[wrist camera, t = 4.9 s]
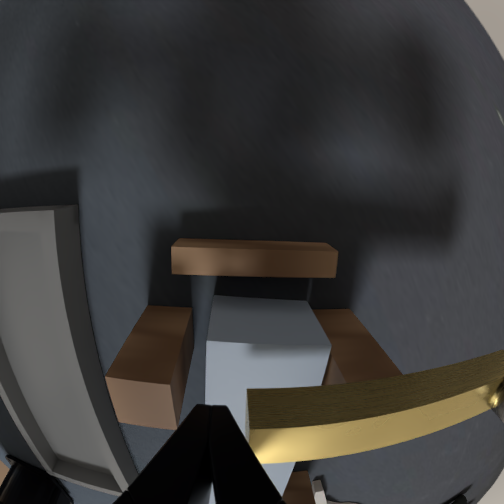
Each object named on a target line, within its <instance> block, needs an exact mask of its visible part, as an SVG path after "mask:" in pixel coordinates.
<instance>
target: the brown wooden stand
mask: <svg viewBox="0 0 504 504" xmlns="http://www.w3.org/2000/svg"><path fill="white" fill-rule="evenodd" d="M171 260H172V274H184V275H213V276H249V277H305V278H335V276H336V268H337V260H338V251H337V250H335V249H334V248H333V247H331V246H330V245H329V244H327V243H315V242H287V241H257V240H224V239H187V238H179V239H178V240H177V241H176V242H175V243H174V244H173V245H172V247H171ZM312 311H313V313H314V314H315V316H316V318H317V320H318V321H319V323H320V325H321V327H322V329H323V330H324V332H325V334H326V336H327V337H328V339H329V341H330V343H331V345H332V347H331V350H330V354H329V358H328V362H327V366H326V369H325V373H324V377H323V380H322V384H321V386H322V385H334V384H343V383H352V382H360V381H368V380H375V379H382V378H388V377H394V376H400V375H403V374H402V373H401V372H400V370H399V369H398V368H397V367H396V365H395V364H394V363H393V362H392V360H391V359H390V358H389V357H388V355H387V354H386V353H385V352H384V350H383V349H382V348H381V347H380V345H379V344H378V343H377V342H376V340H375V339H374V338H373V337H372V335H371V334H370V333H369V332H368V331H367V329H366V328H365V327H364V326H363V324H362V323H361V322H360V321H359V320H358V318H357V317H356V316H355V315H354V313H353V312H352V311H351V310H350V309H315V310H312ZM193 349H194V337H193V314H192V308H188V307H168V306H152V305H148V306H147V307H146V309H145V310H144V312H143V314H142V315H141V317H140V318H139V320H138V322H137V323H136V325H135V326H134V328H133V330H132V331H131V333H130V335H129V336H128V338H127V340H126V341H125V343H124V345H123V346H122V348H121V350H120V351H119V353H118V355H117V356H116V358H115V360H114V361H113V363H112V365H111V367H110V368H109V370H108V372H107V374H106V375H105V379H106V382H107V386H108V390H109V393H110V396H111V400H112V403H113V406H114V409H115V412H116V415H117V418H118V421H119V422H122V423H127V424H133V425H140V426H146V427H154V428H162V429H171V430H176V429H177V428H178V424H179V419H180V414H181V408H182V403H183V398H184V393H185V388H186V383H187V378H188V373H189V368H190V364H191V359H192V354H193ZM282 498H283V499H282V500H285V502H286V503H287V504H316V503H315V498H314V494H313V490H312V486H311V482H310V478H309V474H308V471H299V472H292V473H291V475H290V478H289V480H288V483H287V485H286V488H285V490H284V493H283V495H282Z"/></svg>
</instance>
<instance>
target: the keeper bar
mask: <svg viewBox="0 0 504 504" xmlns="http://www.w3.org/2000/svg"><path fill="white" fill-rule="evenodd" d="M489 409H492V410H493V412H494V413H495V414H496V415H497V416H498V417H499V418H500V419H501V420H502V421H503V422H504V350H500V351H497V352H494V353H491V354H487V355H484V356H481V357H477V358H474V359H470V360H467V361H463V362H459V363H456V364H452V365H448V366H443V367H439V368H435V369H430V370H426V371H421V372H416V373H411V374H405V375H400V376H394V377H388V378H382V379H375V380H368V381H360V382H352V383H343V384H334V385H322V386H309V387H292V388H254V389H247V392H246V413H245V435H246V440H247V442H248V443H249V445H250V447H251V448H252V450H253V452H254V453H255V455H256V457H257V458H258V460H259V462H260V463H261V464H268V463H285V462H297V461H307V460H315V459H323V458H330V457H336V456H342V455H348V454H353V453H358V452H363V451H368V450H373V449H377V448H381V447H385V446H389V445H393V444H397V443H400V442H404V441H407V440H411V439H414V438H417V437H420V436H424V435H427V434H430V433H433V432H435V431H438V430H441V429H444V428H446V427H449V426H452V425H454V424H457V423H459V422H462V421H464V420H466V419H469V418H471V417H473V416H476V415H478V414H480V413H482V412H484V411H487V410H489Z"/></svg>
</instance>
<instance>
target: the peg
mask: <svg viewBox="0 0 504 504" xmlns="http://www.w3.org/2000/svg"><path fill="white" fill-rule="evenodd" d="M331 347H332V345H331V343H330V341H329V339H328V337H327V336H326V334H325V332H324V330H323V329H322V327H321V325H320V323H319V321H318V320H317V318H316V316H315V314H314V313H313V311H312V309H311V307H310V306H309V304H308V302H307V301H299V300H280V299H263V298H247V297H233V296H220V295H214V297H213V303H212V310H211V316H210V322H209V329H208V335H207V346H206V391H205V404H209V405H226V406H228V408H229V409H230V411H231V413H232V415H233V417H234V419H235V420H236V422H237V424H238V426H239V428H240V429H241V431H242V433H243V435H244V436H245V438H246V435H245V413H246V392H247V389H254V388H292V387H309V386H321V384H322V380H323V377H324V373H325V369H326V366H327V362H328V358H329V354H330V350H331ZM261 465H262V467H263V468H264V470H265V471H266V473H267V475H268V476H269V478H270V479H271V481H272V482H273V484H274V485H275V487H276V488H277V490H278V492H279V493H280V495H281V496H282V495H283V493H284V490H285V488H286V485H287V483H288V480H289V478H290V475H291V473H292V470H293V468H294V465H295V462H285V463H268V464H261ZM209 504H215V497H214V491H213V484H212V488H211V494H210V500H209Z"/></svg>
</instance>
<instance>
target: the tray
mask: <svg viewBox="0 0 504 504" xmlns="http://www.w3.org/2000/svg"><path fill="white" fill-rule="evenodd" d="M0 396H1V398H2V400H3V402H4V404H5V406H6V407H7V409H8V411H9V413H10V415H11V417H12V419H13V420H14V422H15V424H16V426H17V427H18V429H19V431H20V432H21V434H22V436H23V437H24V439H25V440H26V442H27V444H28V445H29V447H30V448H31V450H32V451H33V453H34V454H35V456H36V457H37V459H38V460H39V461H40V463H41V464H42V466H43V467H44V468H45V470H46V471H47V472H48V474H50V475H53V476H55V477H58V478H61V479H63V480H66V481H69V482H72V483H75V484H78V485H81V486H84V487H87V488H90V489H94V490H97V491H101V492H104V493H108V494H112V495H116V496H120V495H121V494H122V493H123V492H124V491H125V490H127V487H128V486H129V485H130V484H131V483H132V482H133V481H134V479H135V478H136V477H137V476H138V472H137V470H136V468H135V466H134V463H133V461H132V459H131V456H130V454H129V451H128V449H127V446H126V444H125V441H124V439H123V436H122V433H121V430H120V428H119V425H118V422H117V419H116V416H115V413H114V410H113V407H112V404H111V401H110V398H109V394H108V391H107V388H106V384H105V381H104V377H103V373H102V369H101V366H100V362H99V357H98V353H97V349H96V345H95V340H94V335H93V330H92V325H91V320H90V315H89V309H88V303H87V297H86V290H85V283H84V275H83V266H82V257H81V246H80V232H79V212H78V205H54V206H35V207H19V208H5V209H0ZM127 491H128V490H127Z"/></svg>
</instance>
